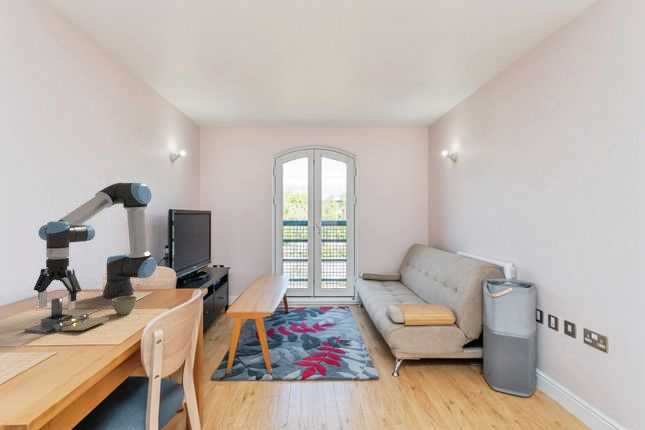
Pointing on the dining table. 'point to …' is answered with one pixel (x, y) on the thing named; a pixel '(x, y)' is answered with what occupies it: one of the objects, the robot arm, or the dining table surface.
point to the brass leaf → (82, 323)
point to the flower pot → (124, 304)
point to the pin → (56, 308)
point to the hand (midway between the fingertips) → (57, 308)
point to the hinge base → (53, 324)
